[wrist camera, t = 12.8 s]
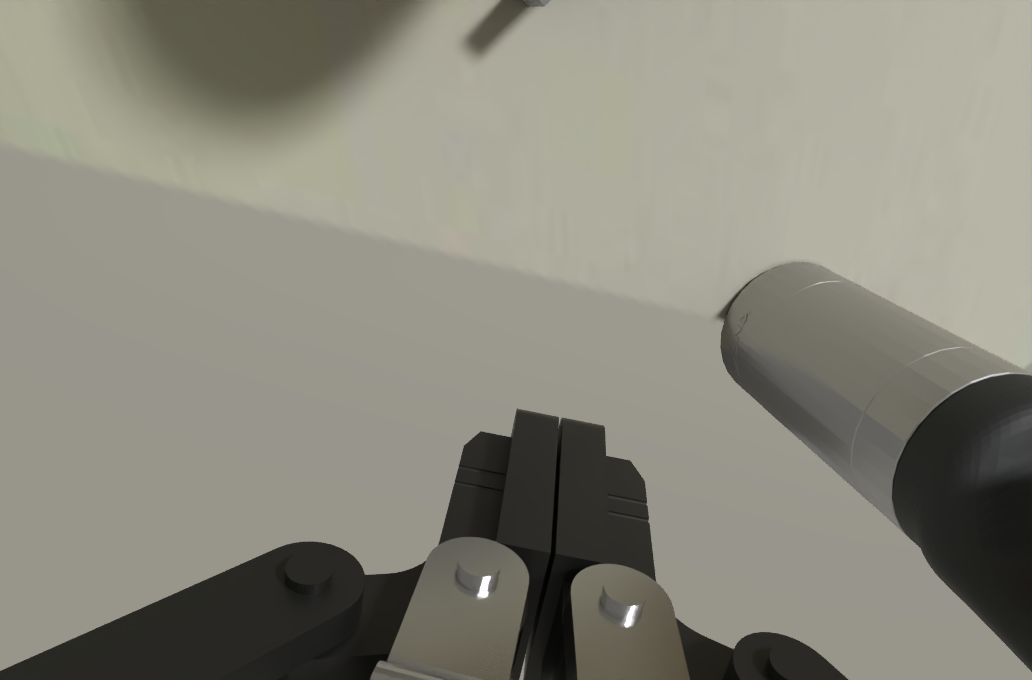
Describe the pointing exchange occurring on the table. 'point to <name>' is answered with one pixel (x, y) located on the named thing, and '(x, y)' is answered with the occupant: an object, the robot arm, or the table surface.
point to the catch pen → (536, 2)
